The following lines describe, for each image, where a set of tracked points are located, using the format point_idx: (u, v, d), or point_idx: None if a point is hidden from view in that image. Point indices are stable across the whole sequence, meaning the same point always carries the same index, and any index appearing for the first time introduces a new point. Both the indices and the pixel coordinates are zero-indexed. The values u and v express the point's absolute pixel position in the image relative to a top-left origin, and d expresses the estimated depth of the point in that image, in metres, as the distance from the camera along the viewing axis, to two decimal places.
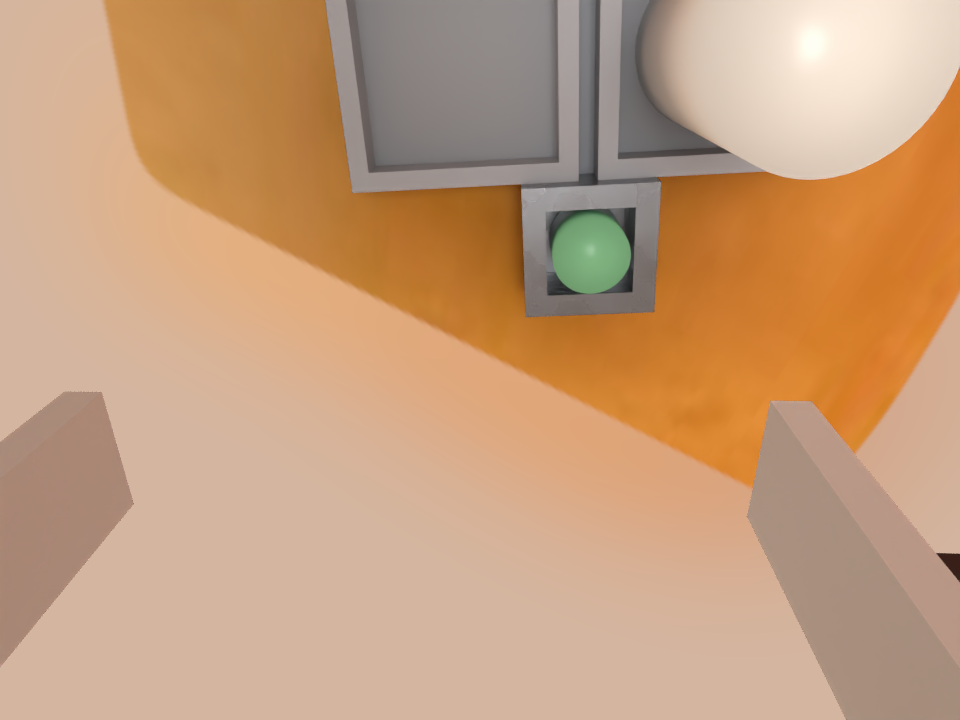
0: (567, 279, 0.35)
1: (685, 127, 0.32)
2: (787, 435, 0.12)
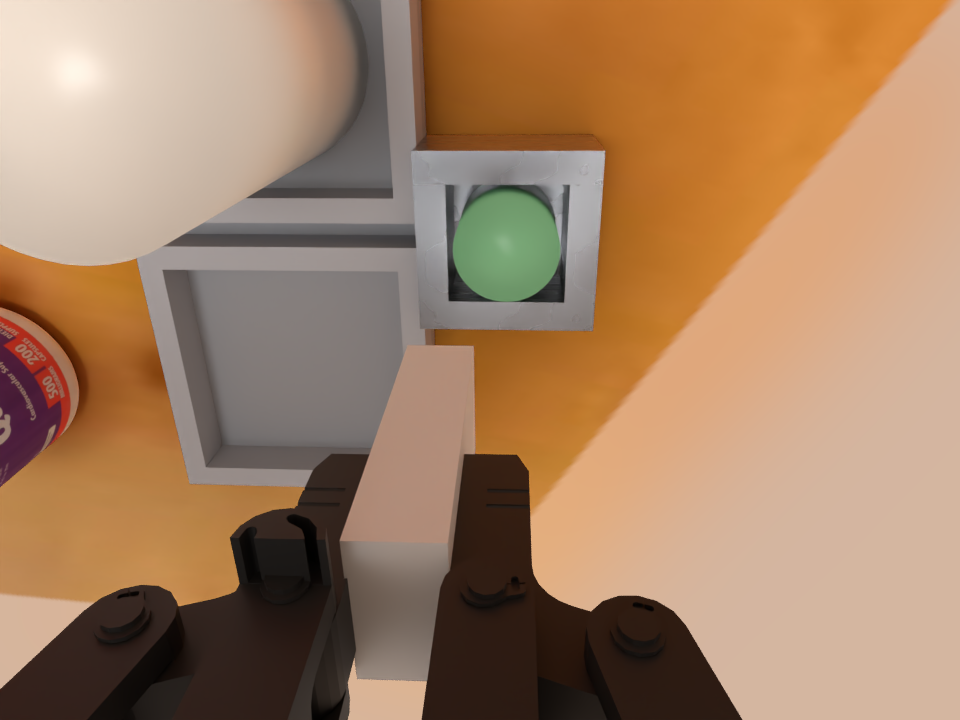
0: (535, 283, 0.26)
1: (330, 130, 0.23)
2: None
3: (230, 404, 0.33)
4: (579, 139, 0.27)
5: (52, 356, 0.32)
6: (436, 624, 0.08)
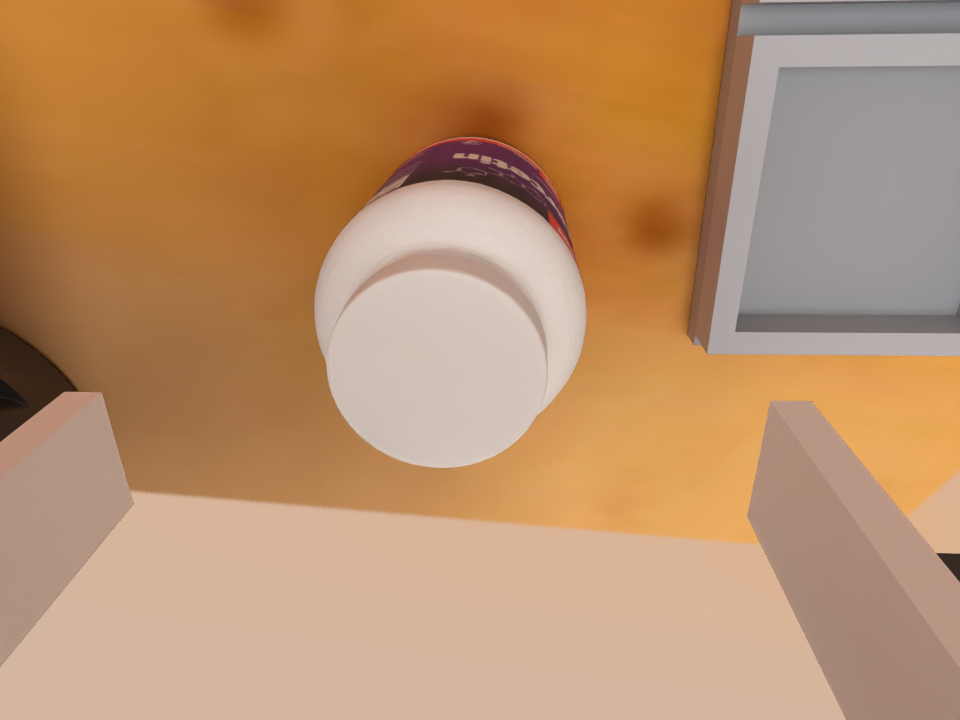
0: None
1: None
2: (787, 435, 0.12)
3: (749, 261, 0.28)
4: None
5: None
6: None
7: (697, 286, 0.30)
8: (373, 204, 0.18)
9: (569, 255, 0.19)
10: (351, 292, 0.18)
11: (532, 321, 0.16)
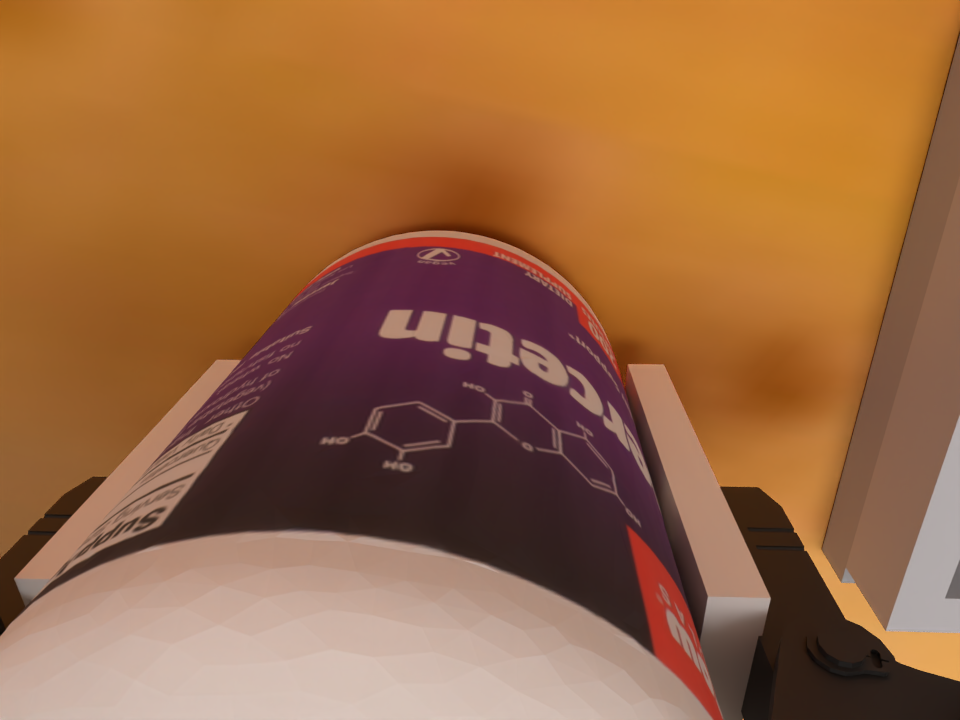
0: None
1: None
2: (633, 393, 0.13)
3: None
4: None
5: (612, 350, 0.14)
6: (779, 675, 0.07)
7: (854, 485, 0.16)
8: (41, 628, 0.05)
9: None
10: None
11: None
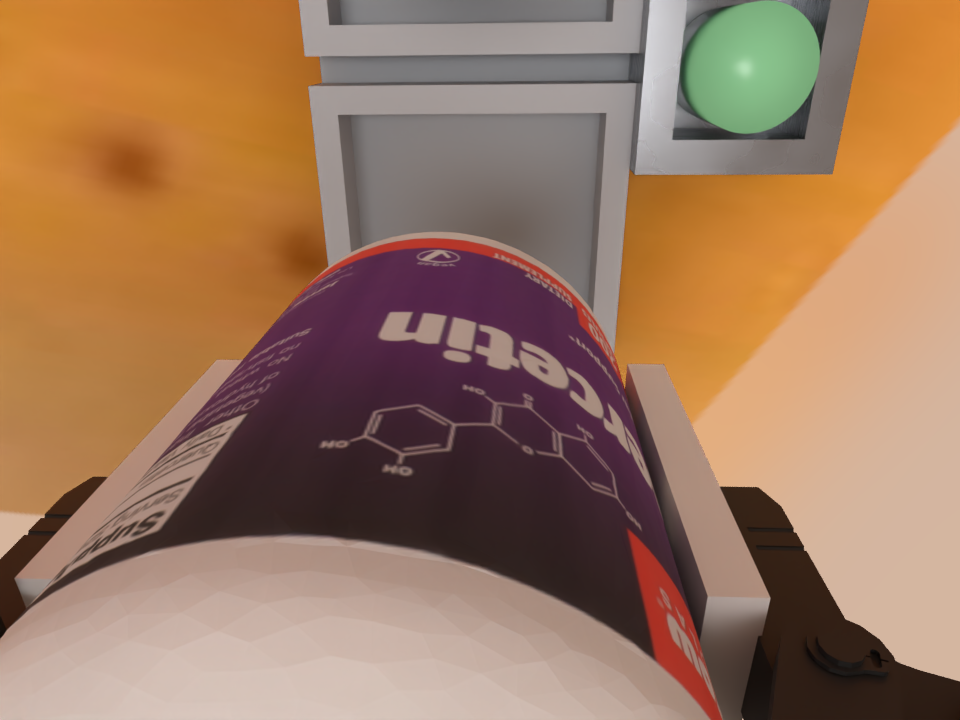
0: (784, 110, 0.23)
1: None
2: (633, 392, 0.13)
3: None
4: None
5: (612, 352, 0.14)
6: (779, 675, 0.07)
7: None
8: (39, 633, 0.05)
9: None
10: None
11: None
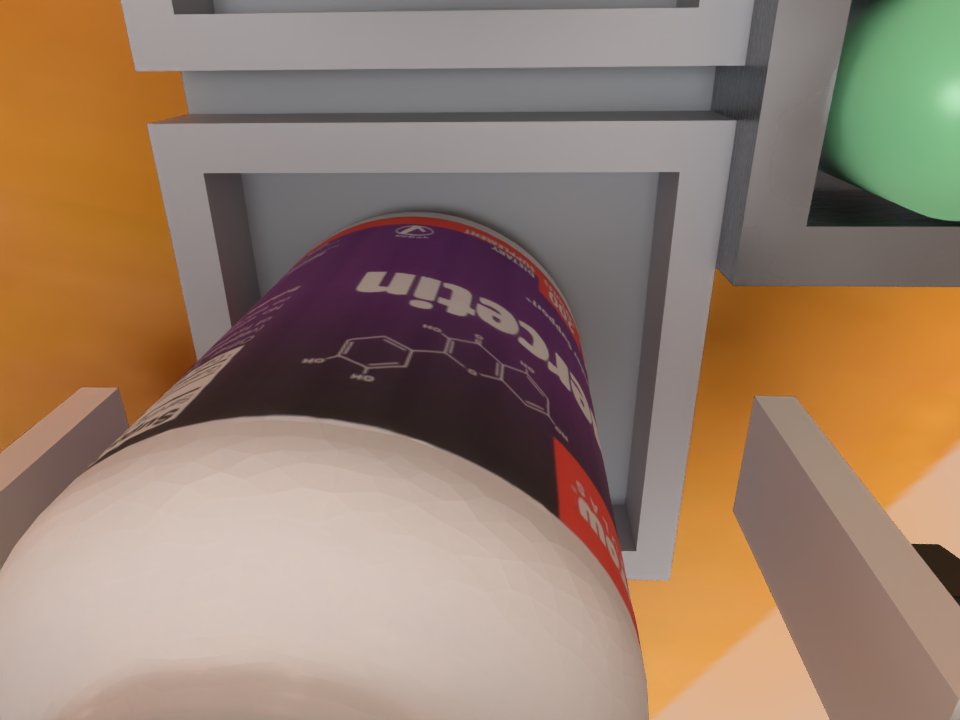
0: None
1: None
2: (770, 430, 0.12)
3: None
4: None
5: (573, 320, 0.16)
6: None
7: None
8: (85, 486, 0.07)
9: (610, 610, 0.07)
10: None
11: None
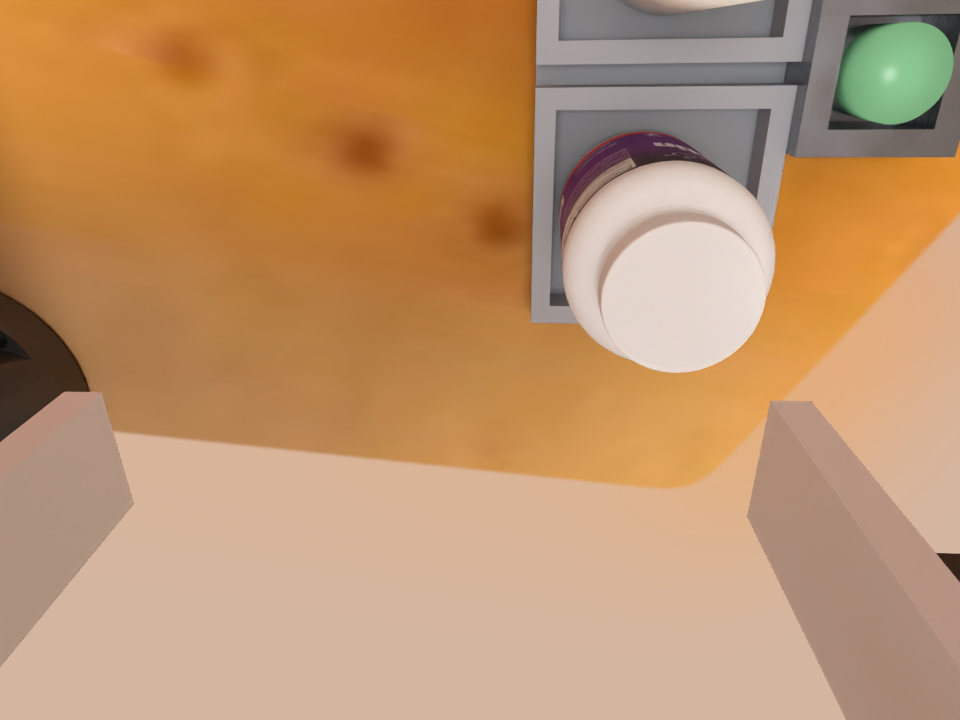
0: (922, 106, 0.29)
1: None
2: (787, 435, 0.12)
3: None
4: None
5: None
6: None
7: None
8: (622, 178, 0.25)
9: None
10: (606, 243, 0.24)
11: (759, 260, 0.22)
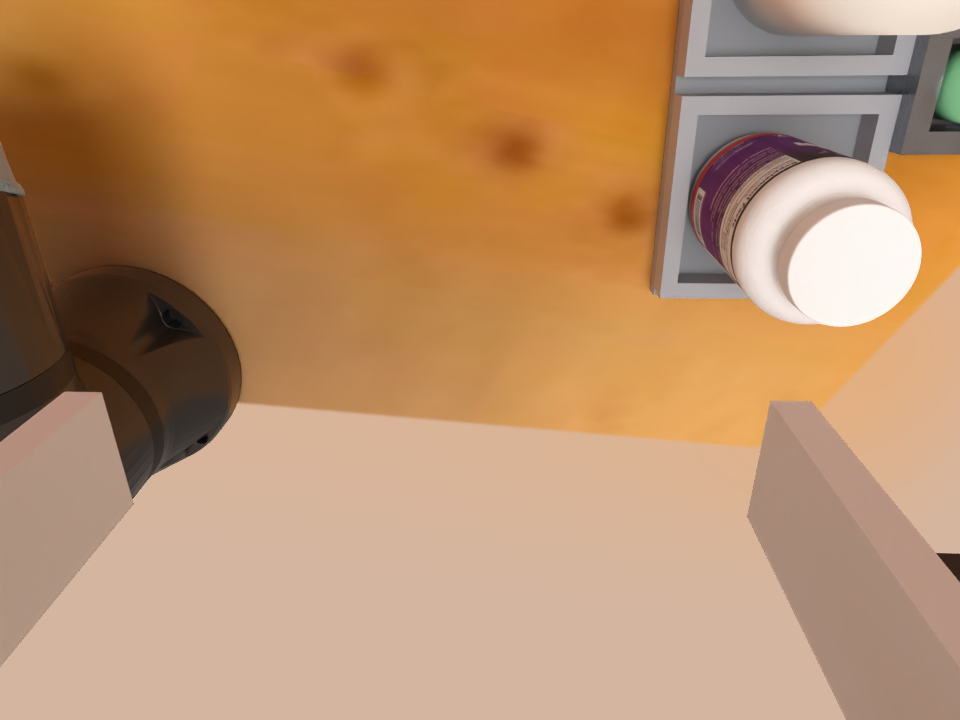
0: None
1: None
2: (787, 435, 0.12)
3: (688, 237, 0.43)
4: None
5: None
6: None
7: (655, 254, 0.44)
8: (793, 171, 0.31)
9: (907, 202, 0.31)
10: (782, 223, 0.30)
11: (917, 234, 0.28)
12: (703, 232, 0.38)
